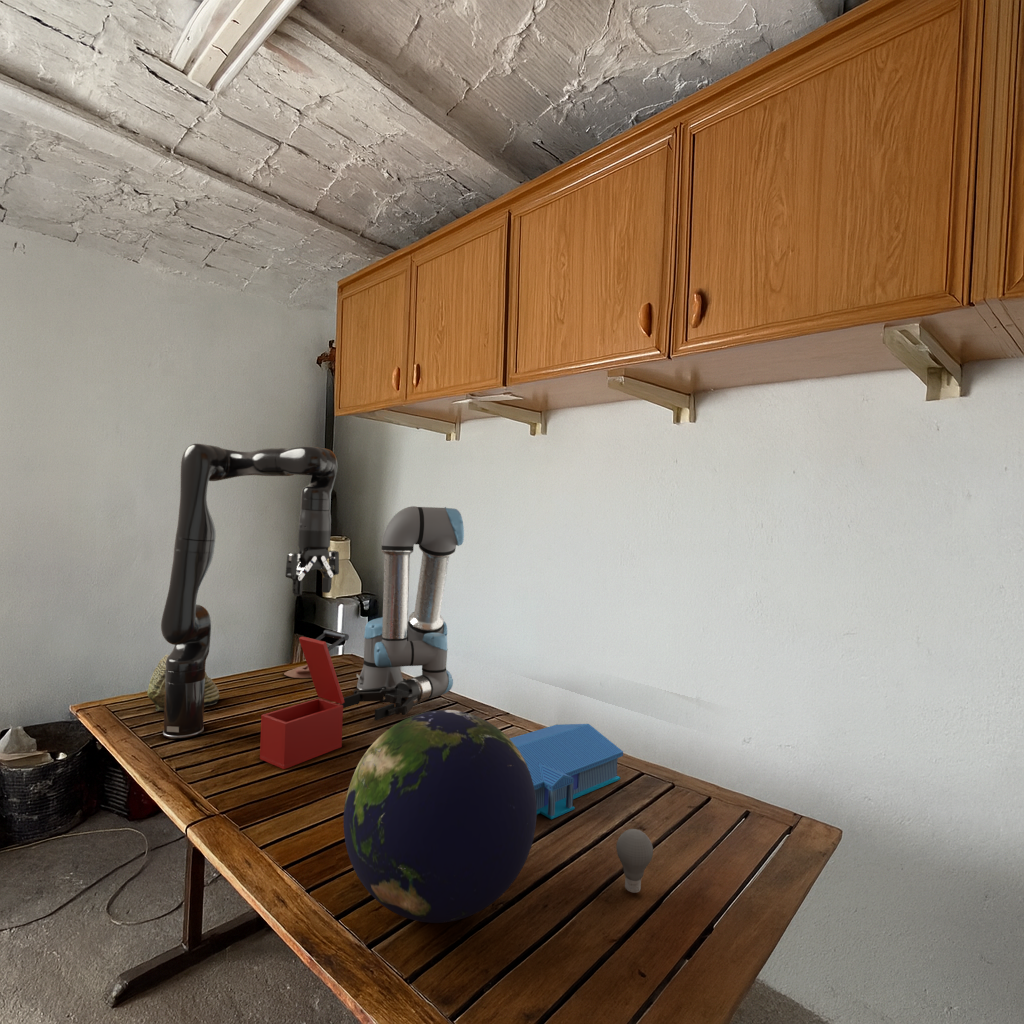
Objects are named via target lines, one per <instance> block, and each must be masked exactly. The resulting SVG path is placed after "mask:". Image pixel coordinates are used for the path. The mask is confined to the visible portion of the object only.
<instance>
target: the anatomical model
mask: <svg viewBox="0 0 1024 1024" xmlns="http://www.w3.org/2000/svg"><path fill="white" fill-rule="evenodd" d="M283 675H284V676H286V677H289V678H292V679H293V678H294V679H312V677H311V674H310V671H309V668H308V665H307V664H306V665H301V666H298V667H297V666H296V667H295V668H293V669H289V670H287V671H285V672H284V673H283Z"/></svg>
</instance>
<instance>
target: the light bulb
mask: <svg viewBox="0 0 1024 1024" xmlns="http://www.w3.org/2000/svg"><path fill="white" fill-rule="evenodd" d="M615 849H616V854H617V857H618V859H619V861H620V863H621V865H622V867H623V873H624V874H623V875H624V876H625V878H624V888H625V890H627V891H628V892H630V893H634V894H635V893H639V892H640V891H641V889H642V887H641V886H642V879H643V877H644V875H645V871H646V868H647V867H648V866H649V864H650V863H651V861H652V859H653V855H654V847H653V843H652V841H651V838H649V836H648V835H647V834H646V833H645V832H643V831H642V830H641V829H636V828H629V829H627V830H625V831H623V832H622V833H621V834H620V835H619V837H618V839H617V841H616V847H615Z"/></svg>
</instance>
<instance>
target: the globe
mask: <svg viewBox="0 0 1024 1024" xmlns="http://www.w3.org/2000/svg"><path fill="white" fill-rule="evenodd" d="M537 817H538V814H537V806H536V795H535V790H534V785H533V781H532V778H531V774H530V772H529V769H528V766H527V764H526V762H525V760H524V758H523V756H522V755H521V753H520V751H519V750H518V749H517V747H516V746H515V745H514V744H513V742H512V741H511V740H510V738H509V737H508V735H507V734H505V732H503V731H502V730H501V729H500V728H498V727H497V726H495V725H494V724H492V723H491V722H489V721H488V720H485V719H483V718H482V717H479V716H477V715H475V714H472V713H468V712H464V711H460V710H455V709H438V710H430V711H425V712H422V713H421V712H420V713H418V714H414V715H412V716H409V717H407V718H405V719H403V720H401V721H399V722H397V723H395V724H394V725H393V726H391V727H390V728H388V729H387V730H386V731H385V732H383V733H382V734H381V735H380V736H378V738H377V739H376V740H375V741H374V742H373V743H372V744H371V745H370V746H369V747H368V749H367V750H366V751H365V753H364V754H363V756H362V757H361V758H360V760H359V762H358V764H357V765H356V768H355V770H354V773H353V775H352V777H351V778H350V782H349V784H348V789H347V791H346V797H345V800H344V809H343V835H344V843H345V847H346V851H347V855H348V858H349V861H350V863H351V866H352V868H353V870H354V873H355V874H356V876H357V878H358V880H359V881H360V882H361V884H362V885H363V887H364V888H365V889H366V890H367V892H368V893H369V894H370V895H371V896H372V897H373V899H375V901H377V903H379V904H381V905H382V906H383V907H384V908H386V909H387V910H389V911H391V912H392V913H394V914H396V915H398V916H400V917H403V918H406V919H408V920H411V921H416V922H419V923H427V924H428V923H429V924H444V923H451V922H456V921H459V920H463V919H467V918H469V917H471V916H473V915H476V914H478V913H480V912H482V911H483V910H485V909H487V908H488V907H489V906H490V905H492V904H494V903H495V902H496V901H497V900H498V899H499V898H501V896H503V895H504V893H506V891H508V889H510V887H511V886H512V885H513V883H514V882H515V881H516V879H517V878H518V876H519V875H520V873H521V871H522V869H523V867H524V866H525V864H526V862H527V860H528V857H529V854H530V852H531V849H532V845H533V843H534V838H535V832H536V827H537Z"/></svg>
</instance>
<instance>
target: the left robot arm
mask: <svg viewBox="0 0 1024 1024" xmlns="http://www.w3.org/2000/svg"><path fill="white" fill-rule="evenodd" d="M337 473H338V459H337V457H336V454H335V453H334V452H333V451H332V450H331V449H328V448H324V447H320V446H312V445H307V446H306V445H305V446H296V447H295V446H294V447H270V448H260V449H256V450H250V451H240V450H233V449H227V448H224V447H220V446H217V445H211V444H205V443H192V444H190V445H188V447H186V448H185V450H184V451H183V453H182V456H181V461H180V489H179V490H180V491H179V507H178V518H177V525H176V532H175V533H176V534H175V537H174V545H173V556H172V557H173V558H172V564H171V572H170V580H169V587H168V593H167V596H166V600H165V604H164V609H163V612H162V617H161V622H160V631H161V634H162V638H163V639H164V640H165V641H166V642H167V643H169V644H170V645H173V649H172V651H171V652H170V653H169V654H168V655H169V656H168V657H167V659H166V674H165V705H164V710H163V731H162V737H164V738H166V739H169V740H185V739H190V738H191V739H192V738H194V737H197V736H199V735H202V734H203V732H204V730H205V729H204V722H205V721H204V718H205V706H204V693H205V672H206V664H207V663H206V662H207V658H208V655H209V653H210V647H211V636H212V635H211V634H212V619H211V616H210V613H209V611H208V610H207V608H206V607H204V606H203V605H200V604H197V599H198V594H199V590H200V587H201V584H202V583H203V581H204V578H205V577H206V574H207V573H208V571H209V569H210V566H211V564H212V562H213V558H214V554H215V547H216V537H217V534H216V533H217V532H216V526H215V524H214V521H213V517H212V515H211V512H210V510H209V507H208V500H207V498H208V497H207V495H208V487H209V482H218V481H223V480H228V479H232V478H239V477H247V476H257V477H258V476H259V477H260V476H261V477H290V476H291V477H292V476H310V480H309V483H308V484H307V485H305V486H304V487H302V489H301V493H300V511H299V517H298V540H297V546H298V548H299V551H298V553H296V552H288V553H287V555H286V565H285V578H288V579H291V580H292V594H293V596H295V597H302V595H303V578H304V577H305V575H306V574H309V571H314V570H318V571H320V572H321V574H322V576H323V577H322V579H321V580H322V581H321V582H322V583H321V593H326V594H329V593H331V590H332V585H333V584H332V582H333V581H332V580H333V579H332V578H333V577H334V576H336V575H339V574H340V553H339V551H337V550H329V548H330V547H331V532H332V525H331V524H332V515H331V504H332V503H331V502H332V500H331V499H332V491H333V488H334V485H335V481H336V478H337Z"/></svg>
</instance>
